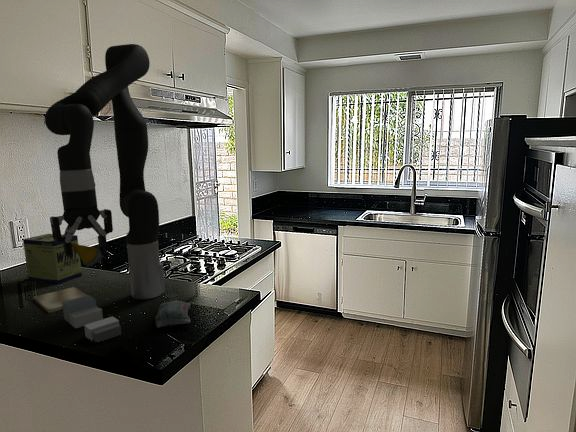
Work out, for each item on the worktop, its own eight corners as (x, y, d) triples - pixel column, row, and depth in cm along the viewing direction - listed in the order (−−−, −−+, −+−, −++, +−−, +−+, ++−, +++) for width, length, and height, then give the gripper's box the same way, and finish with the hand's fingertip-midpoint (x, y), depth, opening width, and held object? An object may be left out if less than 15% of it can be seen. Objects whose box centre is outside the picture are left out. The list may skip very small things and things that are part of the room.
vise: (90, 311, 118) (88, 295, 117) (123, 334, 103) (121, 315, 102) (64, 319, 113) (62, 301, 112) (94, 344, 98) (92, 324, 97)
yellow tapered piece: (108, 266, 105) (76, 247, 98) (92, 274, 107) (59, 256, 100) (110, 250, 109) (80, 230, 102) (95, 258, 110) (64, 239, 103)
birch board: (74, 289, 138) (74, 286, 138) (92, 301, 126) (92, 298, 126) (33, 299, 129) (33, 296, 129) (49, 312, 118) (48, 309, 118)
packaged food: (191, 311, 116) (190, 294, 115) (190, 329, 105) (189, 311, 104) (159, 315, 114) (158, 298, 113) (155, 334, 103) (153, 315, 102)
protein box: (58, 284, 144) (53, 241, 142) (27, 280, 150) (21, 239, 147) (83, 275, 154) (78, 235, 151) (53, 272, 159) (47, 233, 157)
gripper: (102, 185, 108) (109, 245, 111) (41, 190, 99) (50, 257, 101) (113, 186, 103) (121, 250, 106) (50, 192, 93) (60, 262, 96)
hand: (86, 253), depth 104 cm, fingers closed on yellow tapered piece, 7 cm apart
